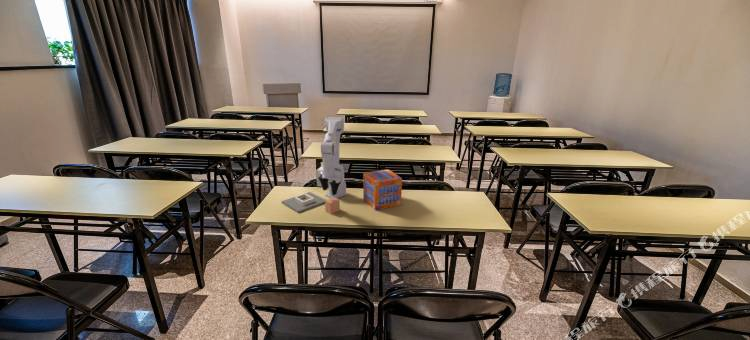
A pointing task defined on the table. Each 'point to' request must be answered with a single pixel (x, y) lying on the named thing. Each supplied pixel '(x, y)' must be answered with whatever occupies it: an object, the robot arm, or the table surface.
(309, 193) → the keyed socket
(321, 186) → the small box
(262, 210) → the table surface
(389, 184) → the game box
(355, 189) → the table surface
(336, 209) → the keyed peg
